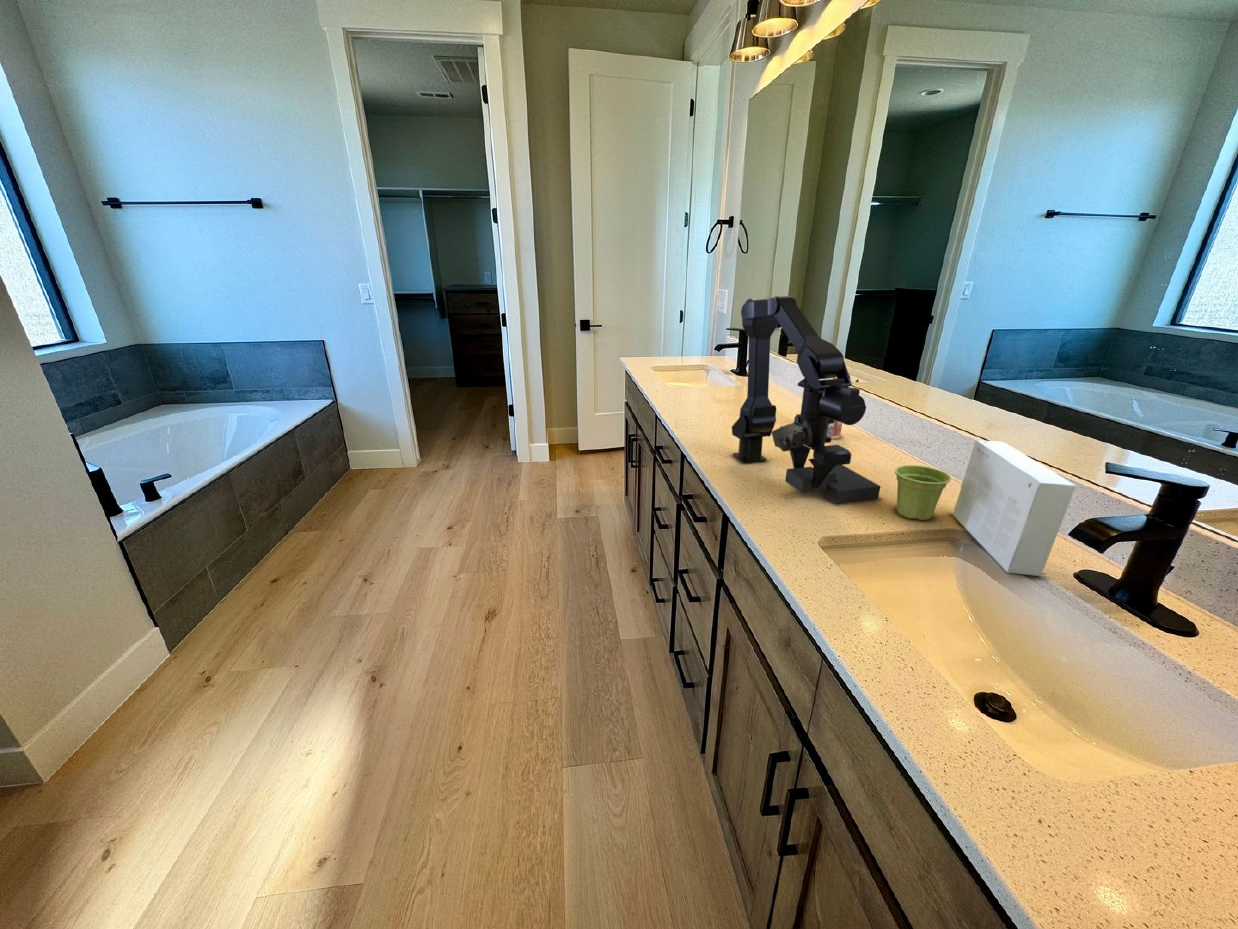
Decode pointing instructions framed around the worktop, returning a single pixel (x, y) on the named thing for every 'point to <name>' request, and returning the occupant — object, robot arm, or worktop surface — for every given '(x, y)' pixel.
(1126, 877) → the worktop surface
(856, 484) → the charcoal pad
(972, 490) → the skincare box
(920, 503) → the plant pot
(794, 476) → the black pad
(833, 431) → the pill bottle
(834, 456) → the robot arm
